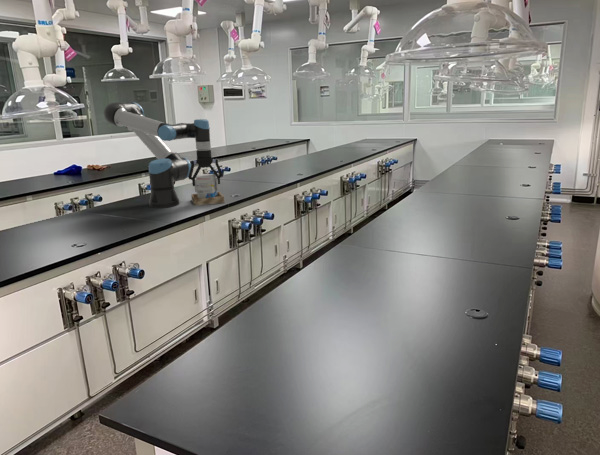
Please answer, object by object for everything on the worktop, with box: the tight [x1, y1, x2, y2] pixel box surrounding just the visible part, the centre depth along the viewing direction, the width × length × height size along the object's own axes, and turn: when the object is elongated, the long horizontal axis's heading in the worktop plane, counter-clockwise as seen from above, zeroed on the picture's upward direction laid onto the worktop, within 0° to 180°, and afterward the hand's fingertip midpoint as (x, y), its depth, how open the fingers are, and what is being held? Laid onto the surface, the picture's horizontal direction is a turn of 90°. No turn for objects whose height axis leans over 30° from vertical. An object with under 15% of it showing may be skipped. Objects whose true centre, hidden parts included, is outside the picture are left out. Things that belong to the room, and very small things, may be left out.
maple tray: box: [191, 191, 225, 206], centre depth 241 cm, size 16×14×3 cm
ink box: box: [195, 173, 218, 198], centre depth 239 cm, size 9×8×12 cm
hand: (206, 191), depth 240 cm, fingers closed on ink box, 11 cm apart
